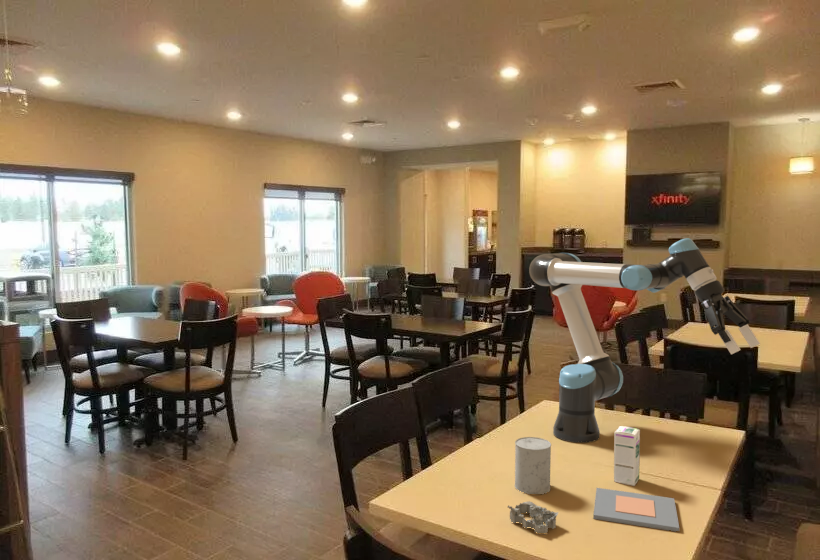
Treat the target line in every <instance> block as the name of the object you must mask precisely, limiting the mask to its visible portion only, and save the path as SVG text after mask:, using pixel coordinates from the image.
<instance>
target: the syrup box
mask: <svg viewBox="0 0 820 560" xmlns="http://www.w3.org/2000/svg"><path fill="white" fill-rule="evenodd" d="M613 434H614V435H613V436H614V443H613V444H614V446H613V448H614V449H613V450H614V451H613V457H614V458H613V481H614V482H615V483H619V484H622V485H626V486H627V485H628V486H632V487H635V486H636V484H637V483H638V481H639V479H640V462H641V461H640V454H641V453H640V451H641V450H640V449H641V447H640V445H641V443H640V442H641V437H640V435H641V429H639V428H636V427H632V426H625V425H624V426H623V425H621V426H620V425H619V426H618V428H616V430H615V431H614V433H613Z"/></svg>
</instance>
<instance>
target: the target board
mask: <svg viewBox="0 0 820 560" xmlns="http://www.w3.org/2000/svg"><path fill="white" fill-rule="evenodd" d="M595 489H596V490H595V497H594V498H595V499H594V507H593V517H592V519H593V520H599V521H604V522H605V521H607V522H612V523H620V524H625V525H631V526H637V527H645V528H652V529H657V530H665V531H669V530H671V532H676V531H679V532H680V525H679V519H678V513H677V508H676V503H675V497H673V498H672V497H668V496H667V497H666V496H659V495H653V494H652V495H651V494H644V493H639V492H631V491H623V490H617V489H610V488H601V487H596V488H595Z"/></svg>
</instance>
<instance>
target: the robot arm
mask: <svg viewBox="0 0 820 560" xmlns="http://www.w3.org/2000/svg"><path fill="white" fill-rule="evenodd" d="M668 253H669V255H668V256H667V257H666V258H665V259H663V260H662V261H660V262H658V263H651V264H649V263H648V264H630V263H628V264H625V263H608V262H607V263H603V262H585V261H584V262H583V261H582V260H581V259H580V258H579V257H578V256H576V255H575V254H573V253H569V252H558V253H544V254H540V255H537V256H536V257H534V258H533V260H532V261H531V262H530V263H529V268H528V269H529V270H528V271H529V272H528V273H529V277H530V279H532V281H533V282H534V283H535V284H537V285H539V286H541V287H549V288H550V290H551V291H550V292H551V293H552V294H553V295H554V296H556V297H557V298H558V301H559V304H560V307H561V310H562V312H563V315H564V318H565V322H566V324H567V327H568V330H569V333H570V336H571V339H572V342H573V345H574V347H575V350H576V353H577V356H578V359H579V360H578V361H577V363H576V364H573V363H572V364H568V365H565V366H563V367H562V368H561V370H560V372H559V378H558V384H559V385H558V386H559V387H558V388H559V389H558V391H559V392H558V393H559V394H558V395H559V396H558V413H557V416H556V419H555V420H554V421H555V422H554V424H553V431H552V432H553V435H554V437H556V438H558V439H560V440H563V441H566V442H571V443H592V442H596V441H598V440H599V439H600V428H599V425H598V421H597V418H596V415H595V410H596V409H595V407H596V406H595V405H596V401H599V400H601V399H604V398H610V397H613V395H615V394H617V393H619V391H620V390H621V388H622V386H623V384H624V375H623V371H622V369H621V368H620V367H619V365H617V364H616V363H614V362H612V360H611V356H610V355H609V354H607V353H605V352H604V350H603V347H602V345H601V342H600V340H599V336H598V334H597V331H596V328H595V326H594V323H593V319H592V318H591V314H590V311H589V309H588V305H587V302H586V300H585V297H584V295H583V292H582V287H583V286H592V287H593V286H594V287H595V286H596V287H605V288H607V287H609V288H619V289H621V288H622V289H627V290H630V291H643V290H647V291H649V292H650V293H653V294H654V293H658V292H660V291H661V290H665V289H666V288H667V287H669V286H670V285H672V284H673V283H675V282H676V281H678V280H680V279H681V278H683V277H684V279H686V282H687V283H688V284H689V286H690V289H691V290H693V291H694V294H695V296H696V298H697V299H698V301H699V302H700V303H701V306H702V308H703V310H704V313H705V316H706V318H707V319H706V320H707V322H708V324H709V327H710V330H711V332H712V333H713V335H715V336H717V335H718V336H719V338H720V339H721V341H722V342H723V344H724V346H725V347H726V349H727V350H728V352H729V353H730V355H733V354H735V353H738V352H739V351H742V350H741V348H740V346H739V345H738V343H737V342H736V340H735V338H734V337H733V336H732V334H731V332H730V331H729V329H728V328H727V329H726V324H725V319H724V316H726V318H728V319H729V320H730V321H732V322H733V323H734V324H735V325H736V326H738V327H739V328H738V330H739V331H740V333H741V335H742V337H743V339H744V340H745V341H746V342H747V345H749V348H750V349H752V348H754V347H757V346H759V345H761V342H760V341H759V339H758V338H757V337H756V335H755V333H754V332H753V331H752V329H751V326H749V324H750V323H751V320H750V319H749V318H748V317H747V316H746V315H745V313H743V311H742V310H741V309H739V307H738V306H737V305H736V304H735V303H734V302H733V301H732V299H731V298H730V297H729V296H728V295H727V296H723V295H722V294H723V293H724V292H725V288H724V286H723V285H722V283H721V282H720V280H717V279H718V278H717V276H716V274H715V273H714V269H713V268H711V266H710V265H709V264H708V262H707V260H706V259H705V257H704V255H703V254H702V252H701V251H700V248H699V247H698V246H697V245H696V243H695V242H694V241H693V240H692V238H687V237H686V238H682V239H680V240H678V241H675V242H674V243H672V244H671V245H670V246H669V248H668Z"/></svg>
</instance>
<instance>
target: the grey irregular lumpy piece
mask: <svg viewBox="0 0 820 560" xmlns="http://www.w3.org/2000/svg"><path fill="white" fill-rule="evenodd" d="M507 508H508V509H509V520H510V519H511V520H510V523H511V522H513V523H516V522H519V523H522V524H523V525H522V528H523V527H525V528H527V527H531V528H534V529H535V530H534V533H535V532H537V533H547V532H548V530H549V529H548V528H552V529H551V530H554V528H555V529H556V523H557V516H558V515H559V512H557V511H556V512H554V511H551V510H549V509H547V507H542V506H540V505H537V504H535V502H533V501H530V500H529V501H523V502H522V503H521V502H520V503H519V504H515V507H513V506H512V505H507ZM526 512H527V513H526ZM521 513H526V514H528V513H530V514H529V517H530V516H531V517H533V518H531V517H530V518H531V519H530V520H527V521H526V520H525V519H526V518H525V514H521ZM543 522H545V523H543ZM513 523H512V524H513ZM525 528H524V529H525ZM547 534H548V533H547Z"/></svg>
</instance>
